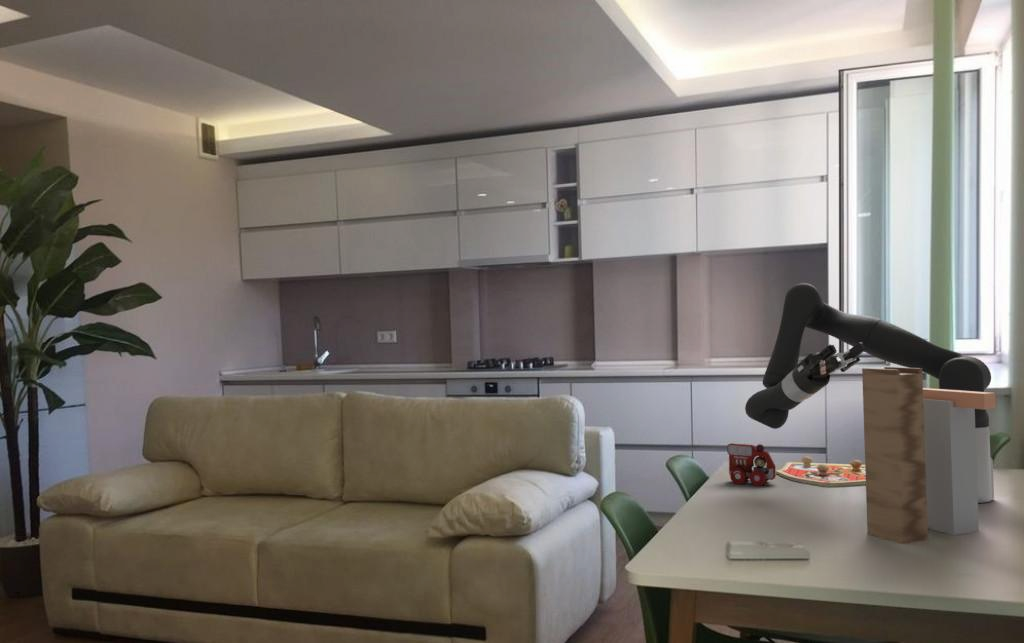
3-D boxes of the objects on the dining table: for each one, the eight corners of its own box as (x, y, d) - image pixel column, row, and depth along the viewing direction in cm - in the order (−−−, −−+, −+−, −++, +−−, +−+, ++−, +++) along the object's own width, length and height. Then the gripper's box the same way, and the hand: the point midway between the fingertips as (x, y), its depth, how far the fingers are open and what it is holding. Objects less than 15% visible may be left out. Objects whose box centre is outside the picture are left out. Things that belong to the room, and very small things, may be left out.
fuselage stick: (899, 399, 168) (898, 386, 168) (995, 408, 148) (995, 392, 148) (889, 400, 167) (888, 386, 167) (984, 409, 147) (984, 393, 147)
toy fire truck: (771, 487, 200) (770, 447, 200) (724, 483, 207) (723, 444, 207) (778, 482, 206) (777, 443, 206) (732, 478, 213) (730, 440, 213)
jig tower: (893, 529, 157) (887, 366, 157) (927, 538, 149) (922, 368, 150) (867, 533, 154) (862, 368, 154) (901, 543, 147) (895, 370, 147)
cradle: (938, 520, 162) (934, 396, 163) (978, 530, 154) (974, 399, 154) (914, 524, 160) (910, 398, 160) (953, 535, 151) (949, 401, 152)
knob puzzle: (888, 471, 219) (888, 455, 219) (893, 492, 192) (892, 474, 192) (780, 466, 231) (779, 451, 231) (770, 486, 204) (769, 469, 204)
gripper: (775, 368, 186) (817, 333, 173) (821, 365, 192) (864, 331, 179) (788, 396, 182) (831, 363, 170) (834, 392, 188) (879, 359, 175)
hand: (848, 346), depth 174 cm, fingers open, 8 cm apart
